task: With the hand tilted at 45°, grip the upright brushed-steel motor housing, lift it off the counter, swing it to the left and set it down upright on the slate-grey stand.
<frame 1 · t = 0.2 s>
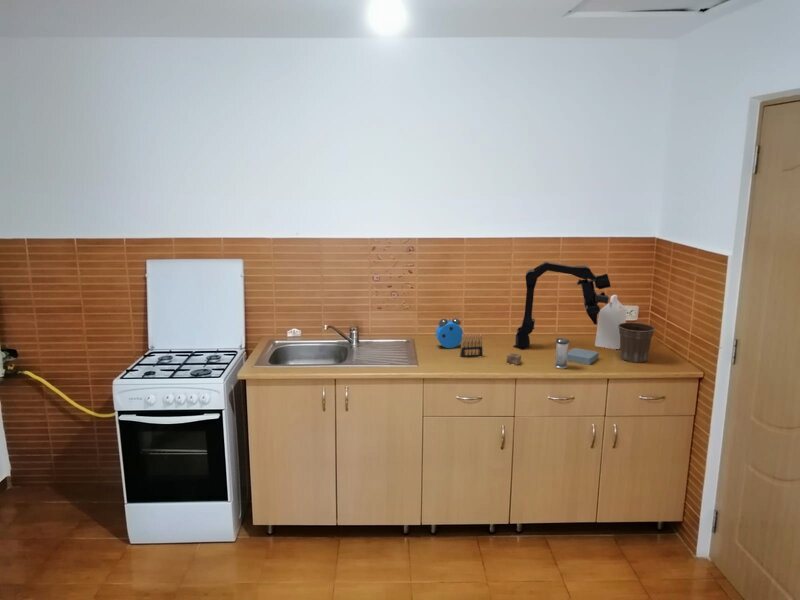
hand: (594, 321, 296), 15 cm above the table, tool pointing down, fingers open, 9 cm apart
ammunition clip: (471, 357, 292), on the table
housing: (560, 366, 277), on the table
alarm clock: (449, 347, 307), on the table
offcut block: (513, 363, 283), on the table
stand: (581, 359, 288), on the table
plant pot: (633, 359, 289), on the table
milk: (609, 345, 311), on the table
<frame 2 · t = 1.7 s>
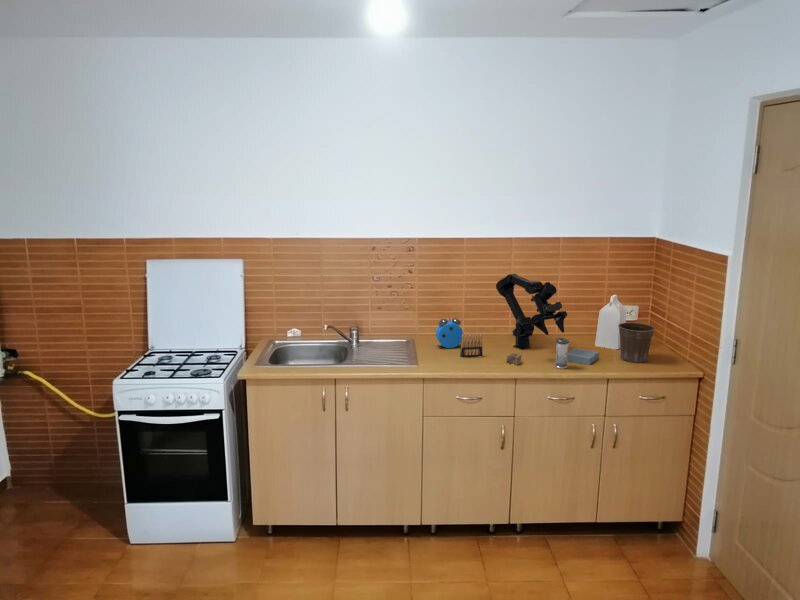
hand: (555, 333, 282), 14 cm above the table, tool tilted 40°, fingers open, 9 cm apart
nothing on the table moved.
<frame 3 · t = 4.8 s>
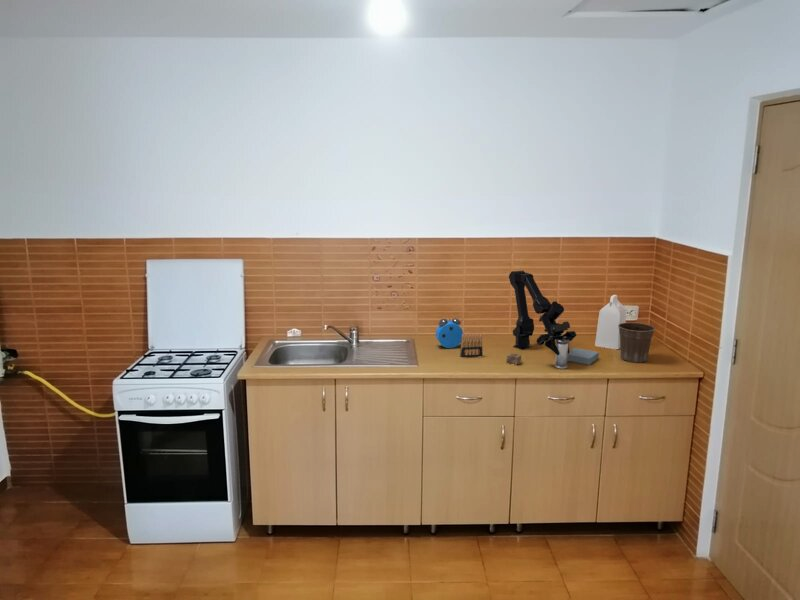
hand: (563, 354, 275), 7 cm above the table, tool tilted 45°, fingers closed on housing, 5 cm apart
housing: (560, 366, 277), on the table, touching gripper
everything else where it was.
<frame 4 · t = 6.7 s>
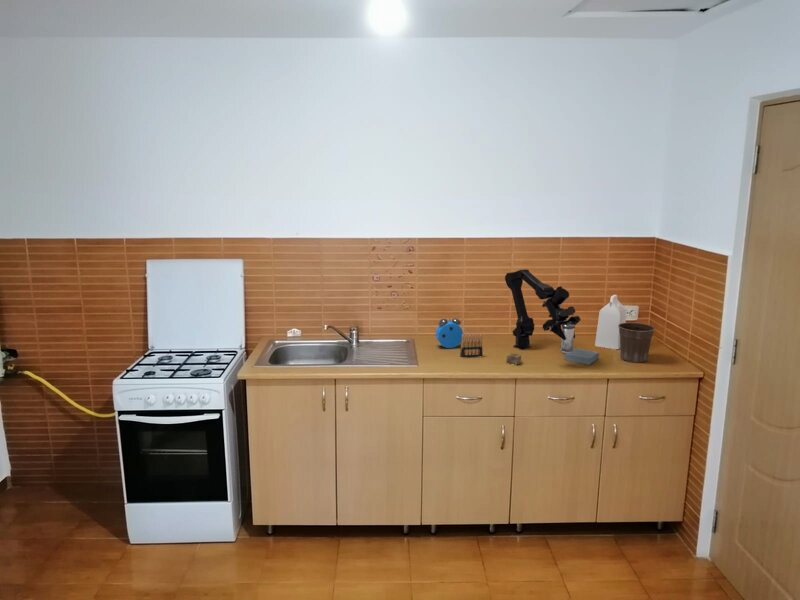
hand: (569, 338, 275), 13 cm above the table, tool tilted 45°, fingers closed on housing, 5 cm apart
housing: (566, 351, 277), point 7 cm above the table, touching gripper
everything else where it was.
when the fingers open (11 cm above the table, at t = 8.8 s): housing drops 1 cm, resting on stand.
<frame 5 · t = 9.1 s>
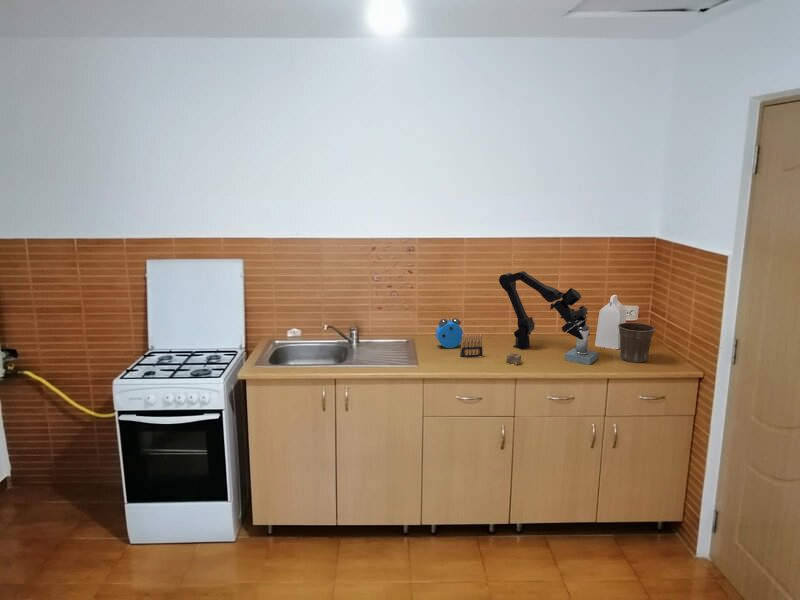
hand: (586, 337, 285), 11 cm above the table, tool tilted 45°, fingers open, 8 cm apart
housing: (581, 353, 288), point 3 cm above the table, touching stand
everything else where it was.
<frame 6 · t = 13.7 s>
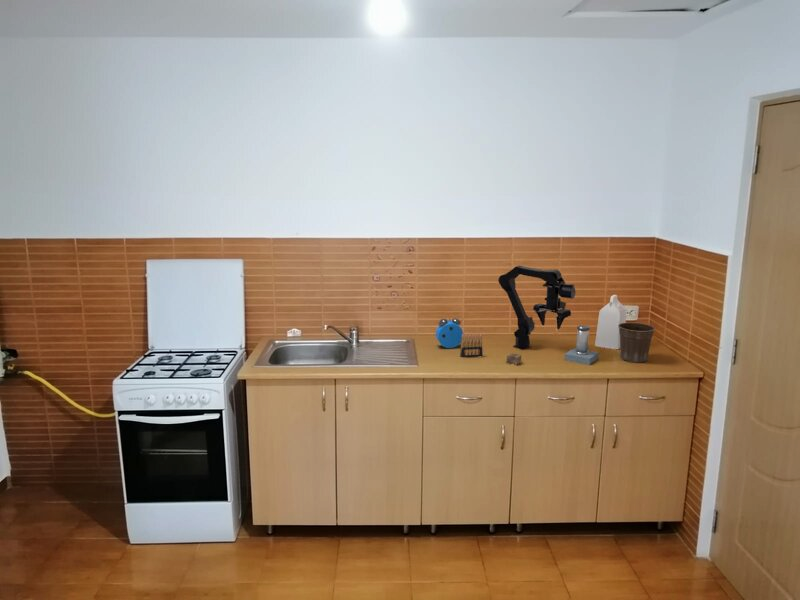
hand: (550, 327, 295), 13 cm above the table, tool pointing down, fingers open, 9 cm apart
nothing on the table moved.
at the end: housing inside the target area on the stand (0.1 cm from its centre), point 3.0 cm above the stand's base; housing tilted 0°; the gripper is holding nothing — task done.
